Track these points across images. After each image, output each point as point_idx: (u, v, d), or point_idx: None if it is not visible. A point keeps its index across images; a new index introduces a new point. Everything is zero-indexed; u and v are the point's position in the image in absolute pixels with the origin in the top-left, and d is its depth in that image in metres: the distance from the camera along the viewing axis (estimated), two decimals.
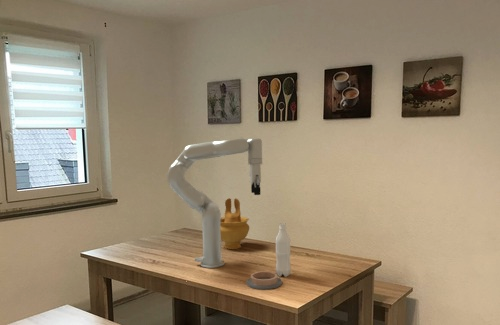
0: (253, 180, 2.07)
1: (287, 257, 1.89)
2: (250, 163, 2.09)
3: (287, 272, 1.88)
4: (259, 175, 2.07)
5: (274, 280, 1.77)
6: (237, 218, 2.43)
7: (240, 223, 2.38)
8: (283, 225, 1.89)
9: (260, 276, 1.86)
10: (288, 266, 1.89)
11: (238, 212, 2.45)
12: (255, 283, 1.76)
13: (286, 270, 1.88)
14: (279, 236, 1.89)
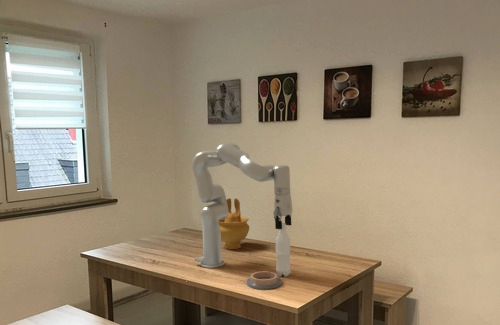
0: None
1: (287, 257, 1.89)
2: None
3: (287, 272, 1.88)
4: None
5: (274, 280, 1.77)
6: (237, 218, 2.43)
7: (240, 223, 2.38)
8: (283, 225, 1.89)
9: (260, 276, 1.86)
10: (288, 266, 1.89)
11: (238, 212, 2.45)
12: (255, 283, 1.76)
13: (286, 270, 1.88)
14: (279, 236, 1.89)
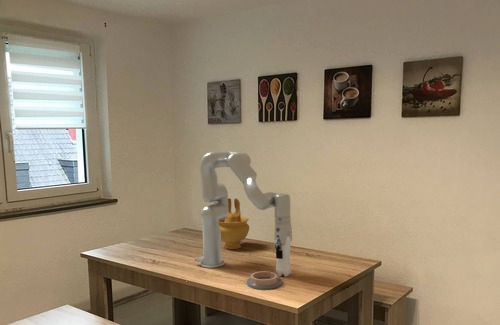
0: None
1: (287, 257, 1.89)
2: None
3: (287, 272, 1.88)
4: None
5: (274, 280, 1.77)
6: (237, 218, 2.43)
7: (240, 223, 2.38)
8: None
9: (260, 276, 1.86)
10: (288, 266, 1.89)
11: (238, 212, 2.45)
12: (255, 283, 1.76)
13: (286, 270, 1.88)
14: None
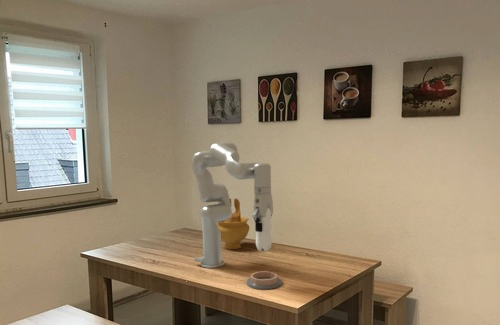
0: None
1: (267, 230, 1.78)
2: None
3: (267, 246, 1.77)
4: None
5: (274, 280, 1.77)
6: (237, 218, 2.43)
7: (240, 223, 2.38)
8: None
9: (260, 276, 1.86)
10: (268, 240, 1.78)
11: (238, 212, 2.45)
12: (255, 283, 1.76)
13: (266, 244, 1.77)
14: None
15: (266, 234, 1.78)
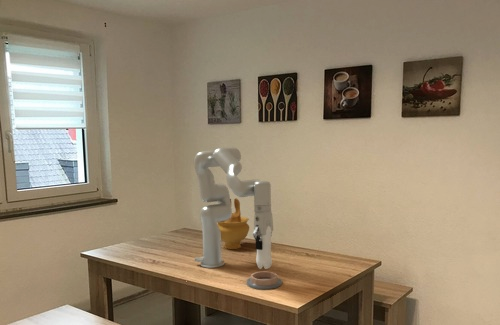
0: None
1: (268, 248, 1.78)
2: None
3: (268, 264, 1.77)
4: None
5: (274, 280, 1.77)
6: (237, 218, 2.43)
7: (240, 223, 2.38)
8: None
9: (260, 276, 1.86)
10: (269, 258, 1.78)
11: (238, 212, 2.45)
12: (255, 283, 1.76)
13: (267, 262, 1.77)
14: None
15: (266, 252, 1.78)
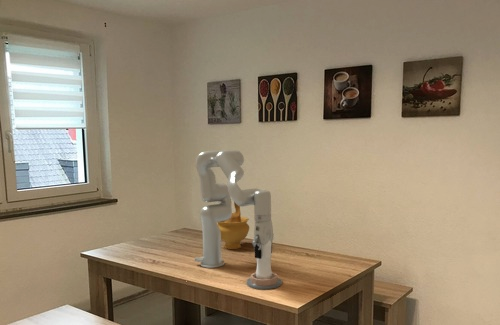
0: None
1: (268, 262, 1.79)
2: None
3: (267, 277, 1.78)
4: None
5: (274, 280, 1.77)
6: (237, 218, 2.43)
7: (240, 223, 2.38)
8: None
9: None
10: (269, 271, 1.79)
11: (238, 212, 2.45)
12: (255, 283, 1.76)
13: (267, 275, 1.78)
14: None
15: (266, 265, 1.78)
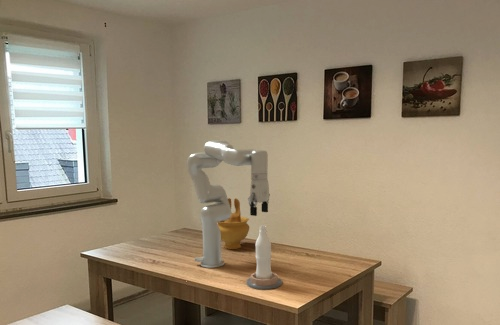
0: None
1: (267, 262, 1.78)
2: None
3: (267, 278, 1.78)
4: None
5: (274, 280, 1.77)
6: (237, 218, 2.43)
7: (240, 223, 2.38)
8: (263, 228, 1.79)
9: None
10: (268, 271, 1.79)
11: (238, 212, 2.45)
12: (255, 283, 1.76)
13: (267, 276, 1.78)
14: (259, 240, 1.78)
15: (266, 266, 1.78)
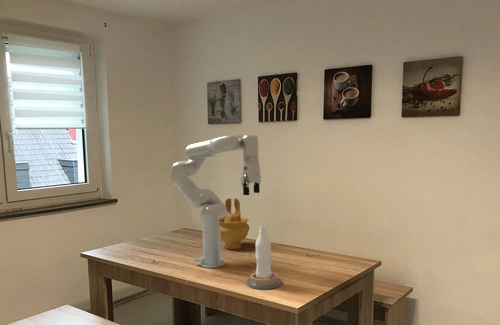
0: None
1: (267, 262, 1.78)
2: None
3: (267, 278, 1.78)
4: None
5: (274, 280, 1.77)
6: (237, 218, 2.43)
7: (240, 223, 2.38)
8: (263, 228, 1.79)
9: None
10: (268, 271, 1.79)
11: (238, 212, 2.45)
12: (255, 283, 1.76)
13: (267, 276, 1.78)
14: (259, 240, 1.78)
15: (266, 266, 1.78)
